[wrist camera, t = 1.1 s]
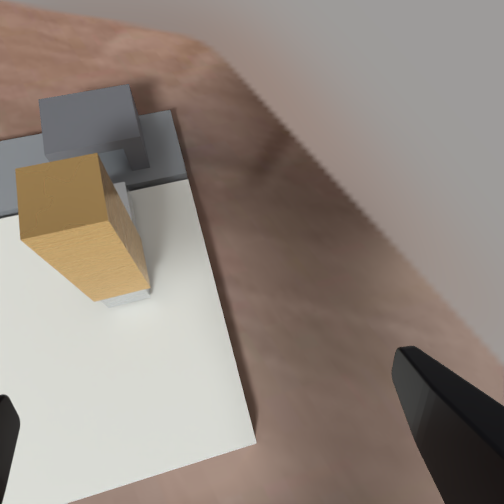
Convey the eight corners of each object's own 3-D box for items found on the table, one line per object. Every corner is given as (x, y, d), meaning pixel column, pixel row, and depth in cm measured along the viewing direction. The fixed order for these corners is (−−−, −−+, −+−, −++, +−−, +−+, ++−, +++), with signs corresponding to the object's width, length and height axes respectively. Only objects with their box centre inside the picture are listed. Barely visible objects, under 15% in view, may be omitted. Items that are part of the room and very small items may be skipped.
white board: (255, 441, 22) (260, 447, 18) (-57, 539, 20) (-138, 574, 15) (173, 124, 30) (163, 74, 26) (-55, 167, 28) (-108, 121, 23)
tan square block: (155, 296, 23) (108, 220, 14) (103, 309, 23) (20, 239, 14) (135, 194, 26) (84, 76, 17) (87, 204, 25) (9, 88, 16)
